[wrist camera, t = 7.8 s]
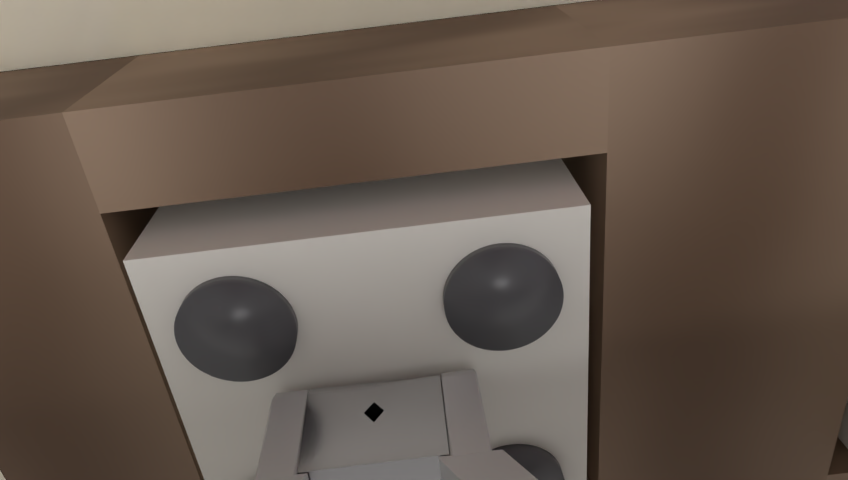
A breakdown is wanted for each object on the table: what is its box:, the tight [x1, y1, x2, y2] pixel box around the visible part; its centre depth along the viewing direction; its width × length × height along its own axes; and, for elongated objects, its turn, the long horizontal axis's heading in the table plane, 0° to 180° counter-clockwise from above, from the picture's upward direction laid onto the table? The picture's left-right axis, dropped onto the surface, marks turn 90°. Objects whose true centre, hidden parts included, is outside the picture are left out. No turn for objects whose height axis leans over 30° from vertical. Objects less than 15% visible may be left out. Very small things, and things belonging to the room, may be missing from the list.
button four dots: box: [123, 158, 591, 480], centre depth 11 cm, size 6×6×3 cm
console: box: [0, 0, 848, 480], centre depth 14 cm, size 24×18×3 cm
